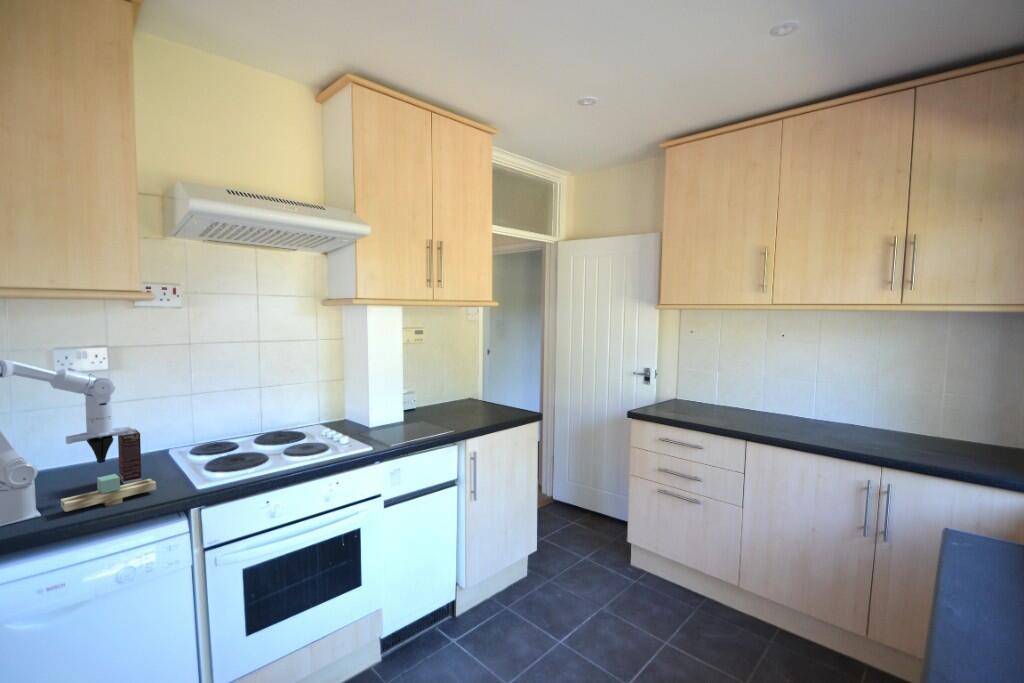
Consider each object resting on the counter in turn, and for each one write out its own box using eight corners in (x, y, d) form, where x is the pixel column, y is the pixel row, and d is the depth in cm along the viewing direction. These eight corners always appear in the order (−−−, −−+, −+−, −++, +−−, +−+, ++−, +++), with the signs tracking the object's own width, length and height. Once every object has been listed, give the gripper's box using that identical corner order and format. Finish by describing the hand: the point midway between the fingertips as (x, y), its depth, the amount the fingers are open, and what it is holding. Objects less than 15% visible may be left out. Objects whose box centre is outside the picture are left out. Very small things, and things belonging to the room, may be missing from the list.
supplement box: (142, 480, 149) (140, 432, 148) (123, 484, 145) (121, 435, 145) (137, 474, 155) (135, 428, 154) (118, 478, 151) (116, 430, 150)
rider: (102, 497, 129) (101, 481, 129) (97, 494, 132) (97, 477, 131) (120, 493, 132) (119, 477, 132) (115, 489, 135) (114, 473, 135)
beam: (66, 516, 122) (65, 504, 122) (60, 510, 126) (60, 498, 126) (157, 493, 139) (156, 482, 138) (149, 488, 142) (149, 477, 142)
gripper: (68, 423, 128) (71, 471, 129) (134, 415, 140) (135, 458, 141) (63, 420, 132) (65, 466, 133) (126, 411, 144) (128, 454, 145)
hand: (101, 462), depth 137 cm, fingers closed
